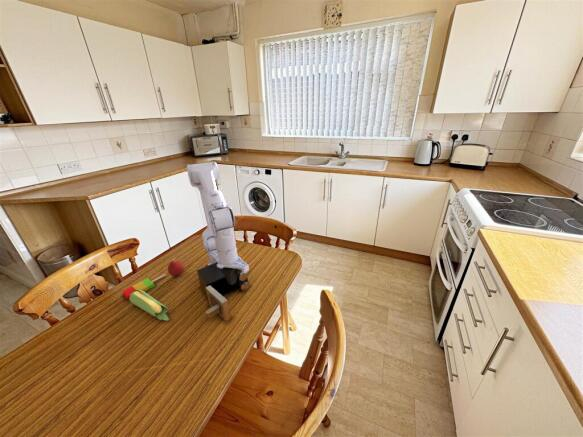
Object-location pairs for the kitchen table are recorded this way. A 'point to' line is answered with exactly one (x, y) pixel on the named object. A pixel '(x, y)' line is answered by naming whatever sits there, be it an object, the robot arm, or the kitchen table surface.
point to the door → (217, 304)
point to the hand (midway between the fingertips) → (232, 282)
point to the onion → (175, 268)
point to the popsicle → (141, 286)
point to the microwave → (221, 280)
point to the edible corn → (149, 304)
